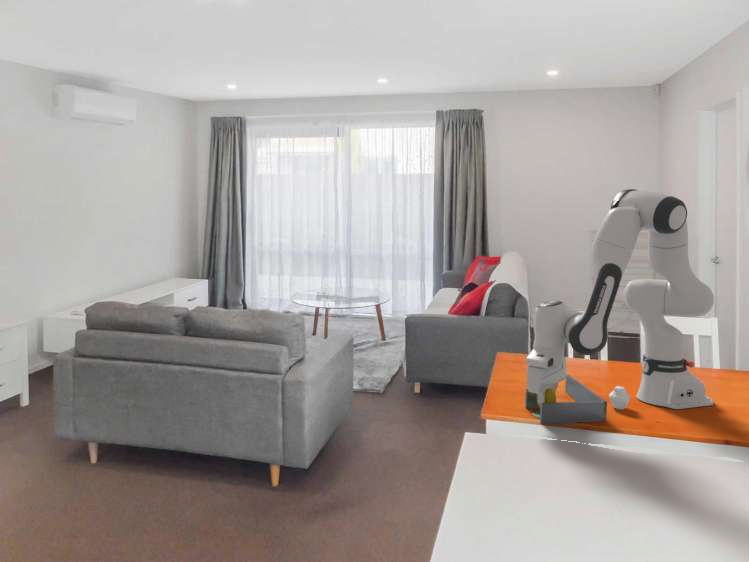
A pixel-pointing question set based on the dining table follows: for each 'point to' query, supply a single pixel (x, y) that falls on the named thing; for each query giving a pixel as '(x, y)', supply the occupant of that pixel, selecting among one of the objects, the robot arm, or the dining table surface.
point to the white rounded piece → (619, 397)
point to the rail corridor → (570, 406)
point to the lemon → (548, 396)
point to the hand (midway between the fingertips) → (546, 400)
